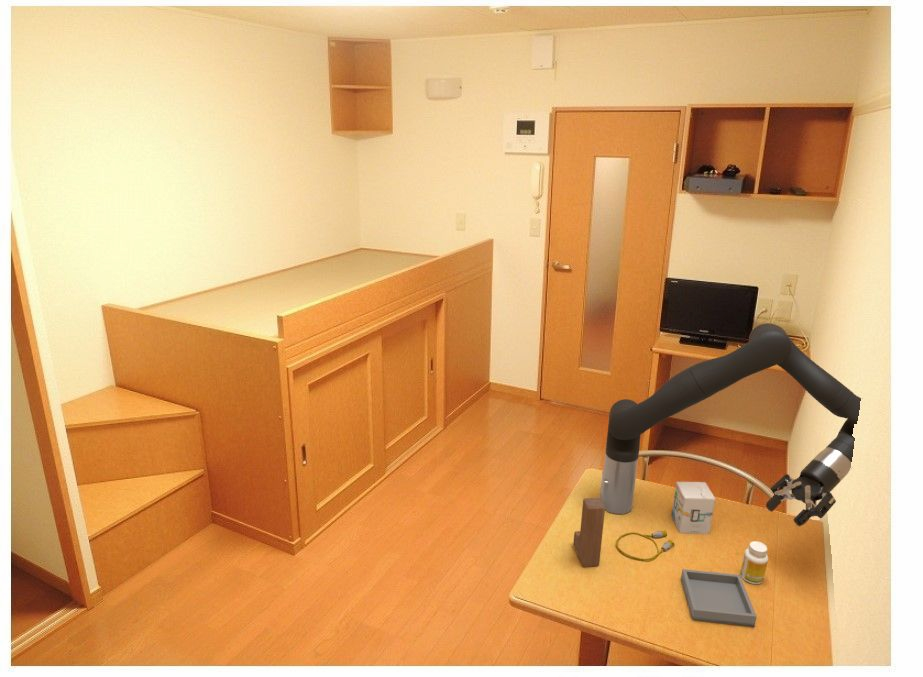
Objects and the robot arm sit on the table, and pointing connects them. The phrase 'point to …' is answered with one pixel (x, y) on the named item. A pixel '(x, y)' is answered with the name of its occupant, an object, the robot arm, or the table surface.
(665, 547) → the extension cord
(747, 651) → the table surface
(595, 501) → the wooden block
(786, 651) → the table surface
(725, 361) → the robot arm
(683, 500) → the ink box
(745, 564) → the supplement bottle
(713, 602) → the tray
